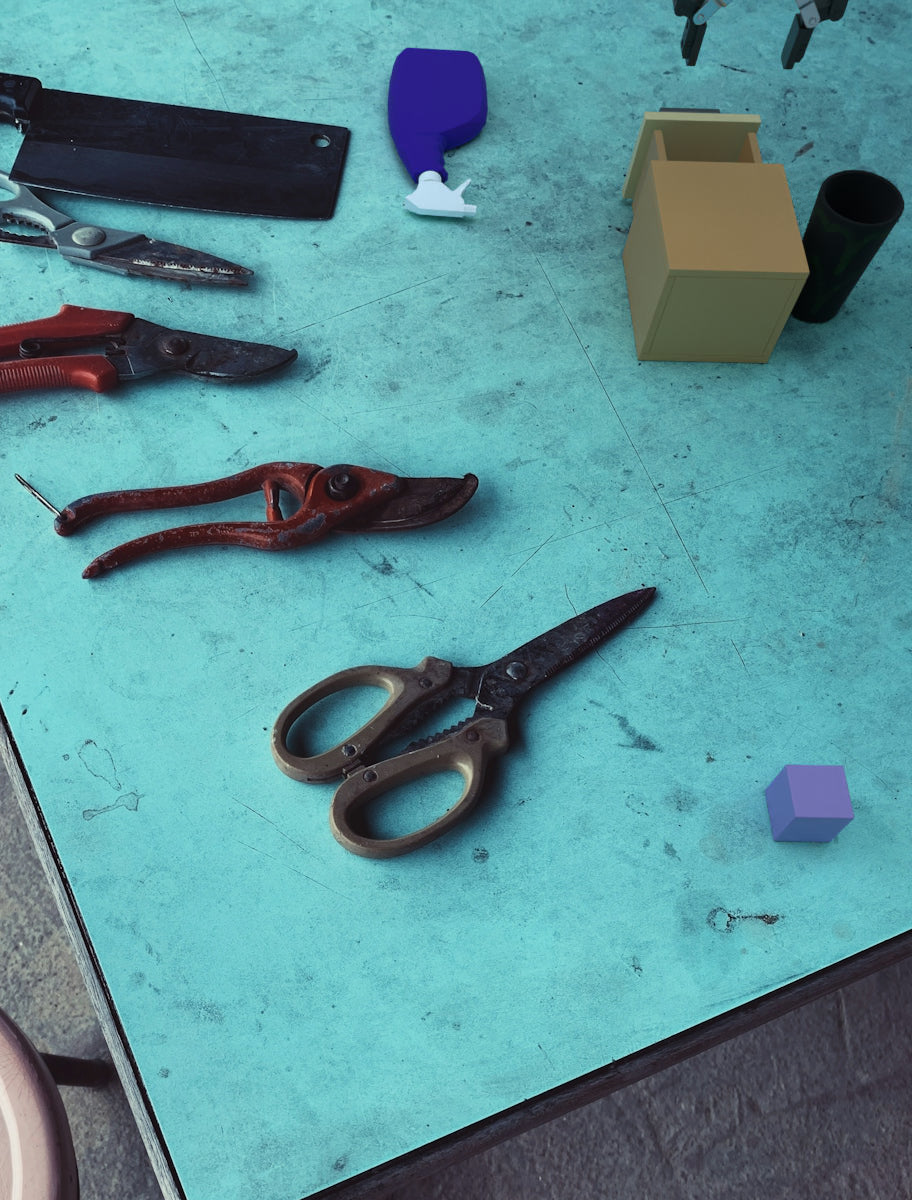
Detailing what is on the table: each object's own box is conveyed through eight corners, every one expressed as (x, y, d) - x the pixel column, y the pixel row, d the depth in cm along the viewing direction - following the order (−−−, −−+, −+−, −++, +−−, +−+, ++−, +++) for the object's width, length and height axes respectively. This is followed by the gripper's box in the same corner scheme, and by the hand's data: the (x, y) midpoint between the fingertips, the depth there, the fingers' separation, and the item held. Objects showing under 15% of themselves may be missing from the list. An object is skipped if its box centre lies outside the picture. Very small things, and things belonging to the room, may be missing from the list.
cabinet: (622, 255, 122) (650, 159, 113) (744, 258, 122) (783, 163, 113) (637, 360, 116) (669, 269, 106) (766, 363, 116) (810, 272, 107)
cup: (808, 266, 122) (859, 158, 111) (864, 310, 120) (922, 204, 109) (755, 296, 120) (802, 189, 109) (811, 342, 117) (865, 237, 107)
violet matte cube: (820, 791, 96) (844, 765, 92) (830, 842, 94) (855, 818, 90) (764, 790, 96) (785, 764, 92) (773, 841, 94) (795, 817, 90)
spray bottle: (390, 44, 132) (385, 197, 121) (489, 49, 132) (492, 203, 121) (388, 70, 134) (382, 222, 124) (485, 75, 134) (487, 228, 124)
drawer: (617, 163, 127) (639, 83, 119) (723, 166, 127) (753, 86, 119) (635, 282, 119) (660, 204, 111) (748, 285, 119) (782, 208, 112)
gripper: (718, -124, 90) (660, 87, 104) (909, -119, 89) (824, 92, 104) (708, -178, 93) (653, 34, 107) (892, -173, 93) (812, 38, 107)
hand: (737, 62), depth 106 cm, fingers open, 8 cm apart
